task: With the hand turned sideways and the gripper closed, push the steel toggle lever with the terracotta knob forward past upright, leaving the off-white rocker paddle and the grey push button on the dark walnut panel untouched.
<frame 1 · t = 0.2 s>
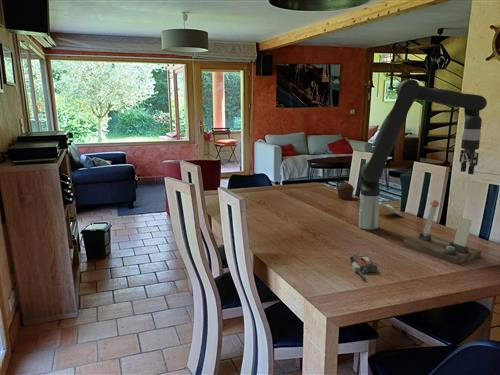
hand: (466, 172, 189), 29 cm above the table, tool pointing down, fingers open, 8 cm apart
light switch: (388, 215, 223), on the table
muffin: (345, 198, 267), on the table
walnut switch panel: (440, 250, 168), on the table
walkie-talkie: (364, 271, 149), on the table
steel toggle lever: (430, 218, 174), point 12 cm above the table, hinge at -20.0°
off-white rocker paddle: (462, 233, 160), point 10 cm above the table, hinge at -15.0°
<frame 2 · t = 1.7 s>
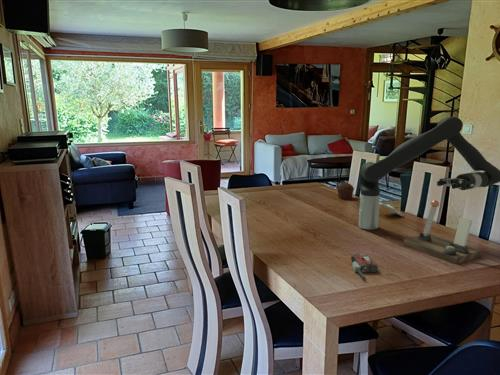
hand: (445, 184, 174), 26 cm above the table, tool horizontal, fingers open, 6 cm apart
nothing on the table moved.
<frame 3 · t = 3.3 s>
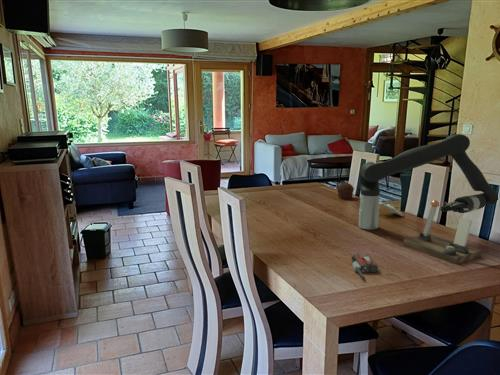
hand: (442, 209, 176), 15 cm above the table, tool horizontal, fingers closed
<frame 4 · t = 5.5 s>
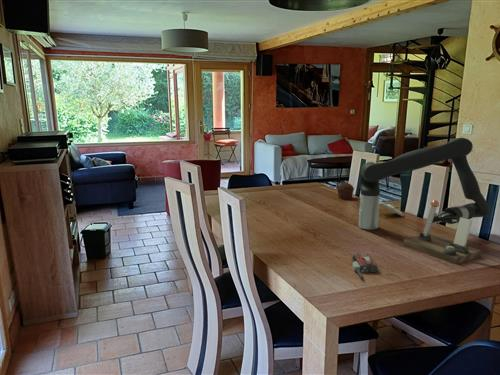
hand: (430, 220, 174), 11 cm above the table, tool horizontal, fingers closed
steel toggle lever: (430, 218, 173), point 12 cm above the table, hinge at -19.3°, touching gripper
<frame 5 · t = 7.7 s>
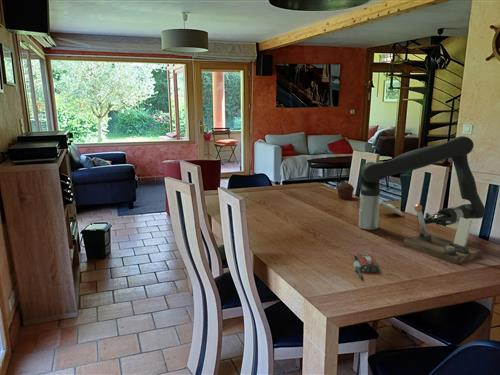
hand: (424, 221, 172), 11 cm above the table, tool horizontal, fingers closed
steel toggle lever: (421, 220, 171), point 12 cm above the table, hinge at 24.1°
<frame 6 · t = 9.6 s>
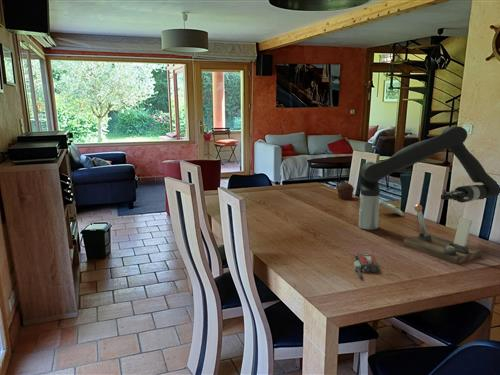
hand: (442, 197, 175), 21 cm above the table, tool horizontal, fingers closed
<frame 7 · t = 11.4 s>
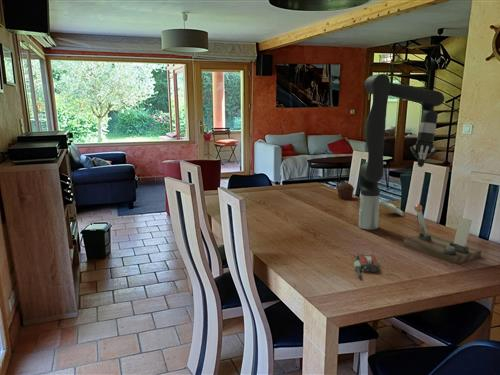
hand: (420, 166, 198), 30 cm above the table, tool pointing down, fingers closed
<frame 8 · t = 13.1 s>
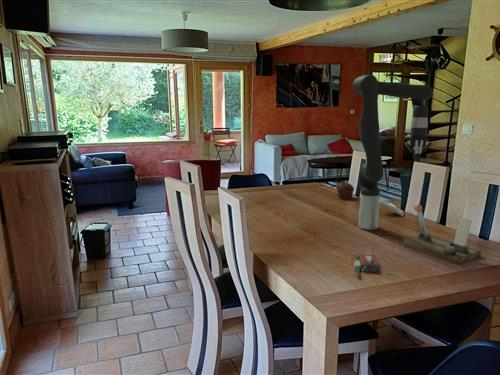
hand: (416, 160, 201), 33 cm above the table, tool pointing down, fingers closed
at the end: steel toggle lever at +24° (first picture: -20°); off-white rocker paddle at -15° (first picture: -15°) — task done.
